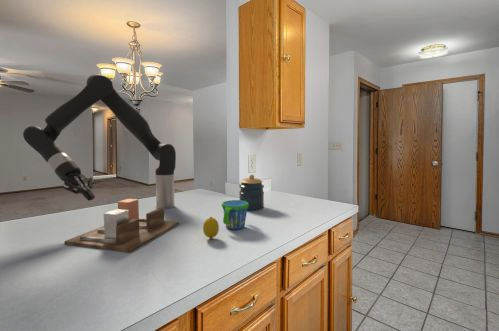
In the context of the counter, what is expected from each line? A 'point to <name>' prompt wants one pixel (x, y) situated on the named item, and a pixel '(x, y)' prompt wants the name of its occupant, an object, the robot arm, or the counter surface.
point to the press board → (127, 233)
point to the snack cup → (235, 214)
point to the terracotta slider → (130, 207)
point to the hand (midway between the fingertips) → (92, 198)
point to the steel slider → (114, 221)
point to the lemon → (210, 227)
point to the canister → (252, 193)
